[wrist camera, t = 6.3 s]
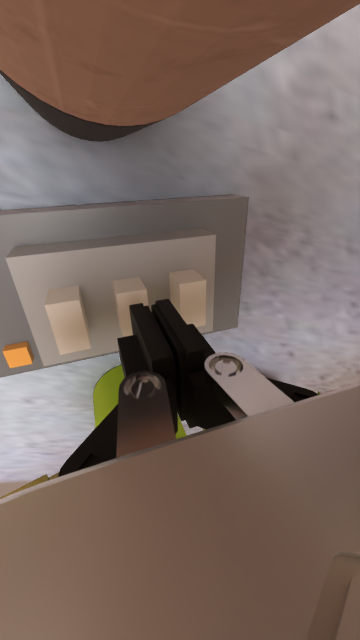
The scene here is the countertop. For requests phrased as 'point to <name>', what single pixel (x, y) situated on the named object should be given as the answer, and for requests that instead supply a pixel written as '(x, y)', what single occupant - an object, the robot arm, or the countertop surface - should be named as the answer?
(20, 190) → the countertop surface
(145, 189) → the countertop surface
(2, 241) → the breaker panel
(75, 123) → the travel mug
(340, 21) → the countertop surface
